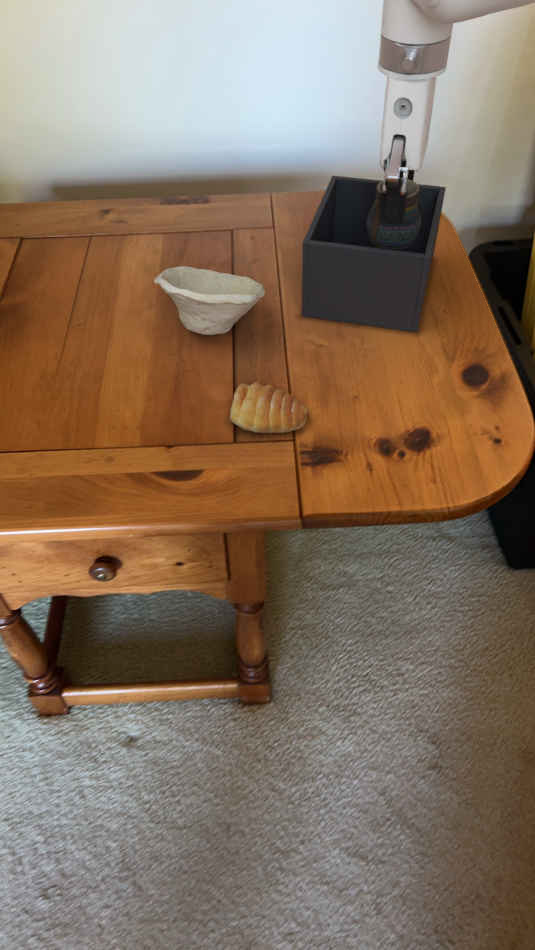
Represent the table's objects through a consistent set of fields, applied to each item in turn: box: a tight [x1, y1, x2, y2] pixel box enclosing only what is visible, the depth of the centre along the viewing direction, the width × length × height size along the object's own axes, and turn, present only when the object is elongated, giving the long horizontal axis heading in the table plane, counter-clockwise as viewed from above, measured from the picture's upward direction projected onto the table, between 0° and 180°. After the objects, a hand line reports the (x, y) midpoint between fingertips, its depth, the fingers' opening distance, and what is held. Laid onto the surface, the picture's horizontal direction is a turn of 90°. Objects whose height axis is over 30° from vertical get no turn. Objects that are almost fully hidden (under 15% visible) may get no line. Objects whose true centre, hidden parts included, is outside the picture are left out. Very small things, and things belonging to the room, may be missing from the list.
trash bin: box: [301, 175, 447, 333], centre depth 95 cm, size 17×19×12 cm
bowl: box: [153, 265, 266, 336], centre depth 91 cm, size 15×14×10 cm
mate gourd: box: [366, 166, 422, 251], centre depth 86 cm, size 7×8×10 cm
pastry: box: [229, 381, 309, 434], centre depth 81 cm, size 9×7×4 cm
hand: (395, 207), depth 86 cm, fingers closed on mate gourd, 6 cm apart
